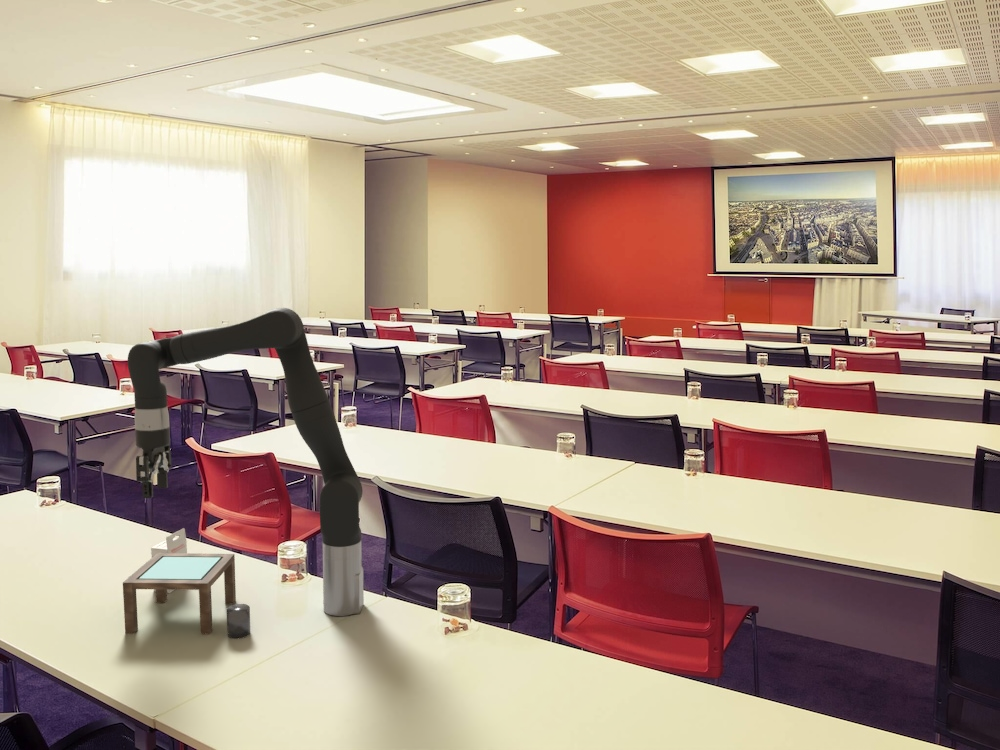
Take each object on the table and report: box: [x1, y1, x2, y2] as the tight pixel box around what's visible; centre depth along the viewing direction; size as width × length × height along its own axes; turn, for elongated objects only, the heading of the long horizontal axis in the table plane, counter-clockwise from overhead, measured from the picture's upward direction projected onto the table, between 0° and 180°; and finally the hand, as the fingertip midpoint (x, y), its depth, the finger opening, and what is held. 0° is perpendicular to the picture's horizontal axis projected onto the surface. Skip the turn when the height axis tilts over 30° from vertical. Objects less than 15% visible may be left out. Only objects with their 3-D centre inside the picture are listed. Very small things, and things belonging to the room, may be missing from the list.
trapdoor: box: [139, 557, 221, 580], centre depth 193 cm, size 14×14×1 cm
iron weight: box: [226, 603, 251, 640], centre depth 185 cm, size 5×5×6 cm
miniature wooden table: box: [122, 552, 237, 635], centre depth 194 cm, size 19×19×12 cm
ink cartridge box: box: [150, 527, 188, 594], centre depth 211 cm, size 9×5×15 cm, turn 168°
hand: (155, 492), depth 195 cm, fingers open, 8 cm apart
